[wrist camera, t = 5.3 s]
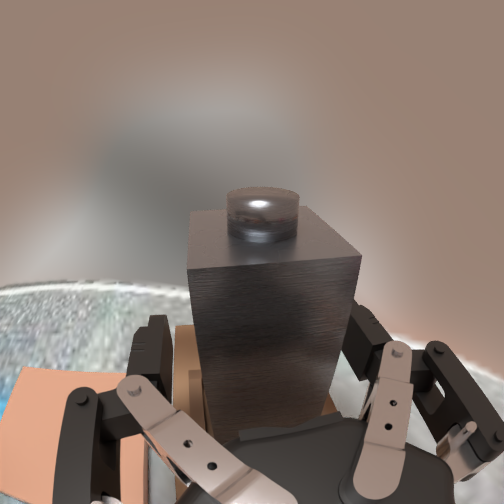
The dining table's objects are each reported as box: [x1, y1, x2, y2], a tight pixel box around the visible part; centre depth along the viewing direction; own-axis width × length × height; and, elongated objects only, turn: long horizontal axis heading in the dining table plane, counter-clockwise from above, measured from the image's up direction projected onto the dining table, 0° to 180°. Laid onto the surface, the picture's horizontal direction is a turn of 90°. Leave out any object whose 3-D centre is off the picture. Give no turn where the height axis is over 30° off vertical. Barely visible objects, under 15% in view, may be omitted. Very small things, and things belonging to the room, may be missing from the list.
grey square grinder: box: [187, 187, 362, 445], centre depth 12 cm, size 5×5×13 cm
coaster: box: [0, 366, 148, 504], centre depth 14 cm, size 13×13×1 cm
